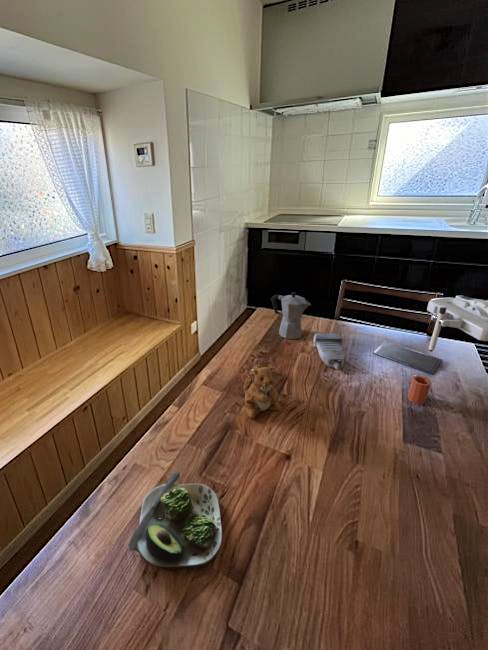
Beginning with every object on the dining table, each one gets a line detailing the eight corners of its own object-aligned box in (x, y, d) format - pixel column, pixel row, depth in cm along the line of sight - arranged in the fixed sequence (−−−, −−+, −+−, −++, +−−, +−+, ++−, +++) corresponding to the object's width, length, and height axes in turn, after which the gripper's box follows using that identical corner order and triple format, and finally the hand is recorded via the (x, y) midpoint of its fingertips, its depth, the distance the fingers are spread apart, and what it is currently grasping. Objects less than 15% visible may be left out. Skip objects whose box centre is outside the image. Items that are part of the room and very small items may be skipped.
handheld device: (323, 372, 110) (324, 360, 109) (310, 341, 129) (311, 330, 127) (353, 373, 109) (356, 361, 107) (336, 342, 127) (338, 331, 125)
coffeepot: (310, 333, 134) (315, 291, 127) (302, 343, 127) (306, 300, 120) (274, 323, 143) (276, 284, 135) (264, 333, 136) (266, 292, 129)
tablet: (441, 361, 113) (442, 359, 112) (432, 376, 106) (432, 373, 106) (384, 342, 125) (384, 340, 125) (372, 354, 118) (372, 352, 118)
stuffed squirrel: (250, 421, 92) (252, 382, 87) (234, 389, 105) (234, 354, 100) (284, 415, 94) (287, 376, 89) (264, 384, 107) (266, 349, 101)
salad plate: (142, 477, 78) (139, 462, 76) (218, 476, 77) (218, 461, 76) (125, 571, 61) (122, 556, 59) (224, 571, 60) (224, 556, 58)
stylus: (434, 351, 100) (447, 306, 94) (432, 353, 99) (446, 307, 93) (428, 349, 101) (441, 304, 95) (427, 351, 100) (440, 306, 94)
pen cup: (427, 399, 97) (433, 380, 94) (422, 407, 94) (428, 387, 91) (410, 392, 100) (415, 373, 97) (405, 400, 97) (410, 380, 94)
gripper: (513, 344, 89) (464, 349, 88) (450, 311, 107) (409, 315, 106) (521, 323, 86) (471, 328, 85) (456, 292, 105) (414, 296, 104)
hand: (436, 320), depth 96 cm, fingers closed on stylus, 1 cm apart
